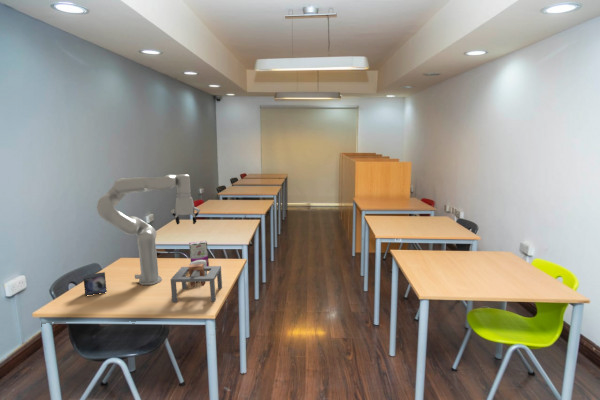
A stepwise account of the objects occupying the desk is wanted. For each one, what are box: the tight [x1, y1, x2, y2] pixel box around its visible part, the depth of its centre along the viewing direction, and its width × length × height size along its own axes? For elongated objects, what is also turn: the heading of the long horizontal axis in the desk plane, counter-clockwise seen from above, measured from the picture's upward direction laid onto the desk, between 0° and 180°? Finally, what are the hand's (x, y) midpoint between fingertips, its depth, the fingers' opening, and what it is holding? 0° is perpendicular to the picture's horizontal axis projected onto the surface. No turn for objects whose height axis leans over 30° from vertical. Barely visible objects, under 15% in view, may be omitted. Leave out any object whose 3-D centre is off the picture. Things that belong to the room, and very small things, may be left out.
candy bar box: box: [188, 240, 210, 266], centre depth 251 cm, size 11×5×16 cm, turn 113°
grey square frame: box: [170, 265, 223, 303], centre depth 206 cm, size 22×19×14 cm
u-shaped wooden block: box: [188, 264, 206, 288], centre depth 205 cm, size 7×4×11 cm, turn 90°
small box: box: [83, 271, 108, 297], centre depth 211 cm, size 11×6×10 cm, turn 117°
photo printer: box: [189, 260, 208, 277], centre depth 227 cm, size 10×4×12 cm, turn 123°
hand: (186, 223), depth 228 cm, fingers open, 9 cm apart
